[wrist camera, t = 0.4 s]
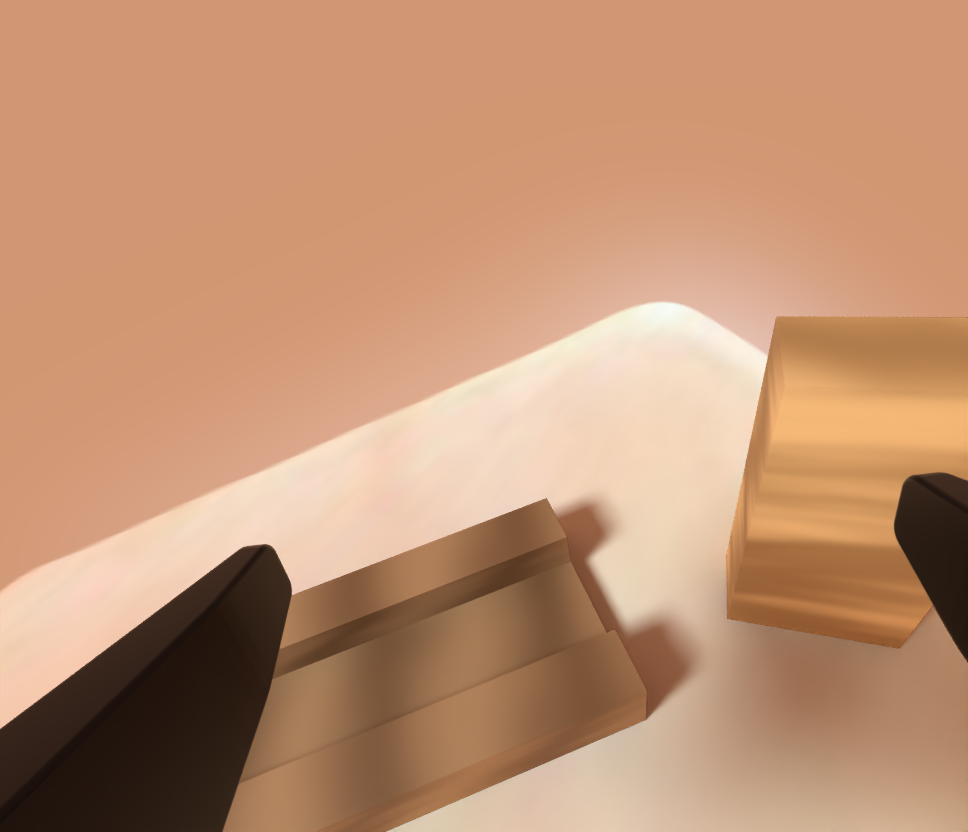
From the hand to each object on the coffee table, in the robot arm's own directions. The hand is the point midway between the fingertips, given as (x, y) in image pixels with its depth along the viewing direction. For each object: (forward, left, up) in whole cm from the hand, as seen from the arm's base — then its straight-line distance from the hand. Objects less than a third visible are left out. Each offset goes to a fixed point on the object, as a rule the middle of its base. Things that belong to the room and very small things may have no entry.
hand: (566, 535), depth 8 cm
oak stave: (+5, -10, -16) cm, 20 cm away
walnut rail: (+5, +8, -16) cm, 19 cm away
